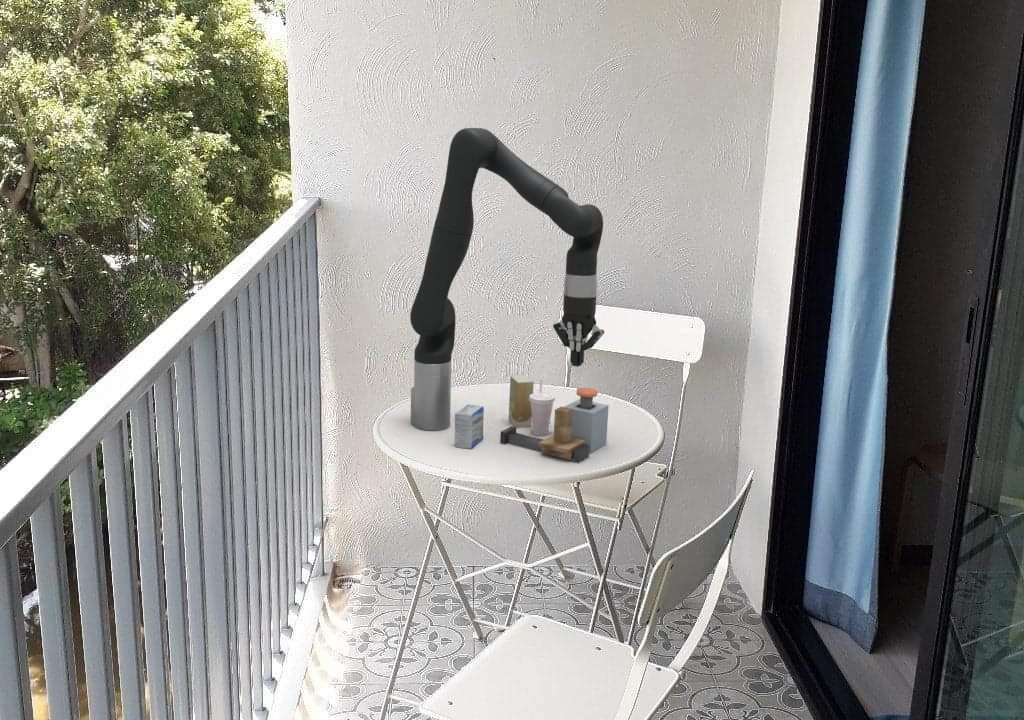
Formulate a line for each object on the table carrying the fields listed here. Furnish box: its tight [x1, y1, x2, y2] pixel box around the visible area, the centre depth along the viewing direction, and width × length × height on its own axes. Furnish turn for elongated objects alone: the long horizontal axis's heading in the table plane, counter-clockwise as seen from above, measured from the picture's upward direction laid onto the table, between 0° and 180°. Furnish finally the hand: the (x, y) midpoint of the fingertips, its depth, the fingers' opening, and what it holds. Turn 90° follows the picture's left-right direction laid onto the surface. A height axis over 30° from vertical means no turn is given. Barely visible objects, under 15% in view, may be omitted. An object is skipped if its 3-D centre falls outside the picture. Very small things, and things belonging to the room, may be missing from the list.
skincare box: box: [507, 374, 535, 428], centre depth 257 cm, size 6×4×12 cm
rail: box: [499, 425, 590, 464], centre depth 240 cm, size 22×5×3 cm, turn 57°
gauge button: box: [576, 387, 598, 410], centre depth 242 cm, size 5×5×7 cm
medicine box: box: [454, 404, 485, 450], centre depth 242 cm, size 8×4×9 cm, turn 160°
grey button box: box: [563, 398, 610, 454], centre depth 243 cm, size 8×8×10 cm
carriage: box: [539, 406, 585, 461], centre depth 236 cm, size 8×8×11 cm
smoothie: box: [529, 378, 556, 437], centre depth 250 cm, size 6×6×14 cm
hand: (576, 365), depth 234 cm, fingers closed
